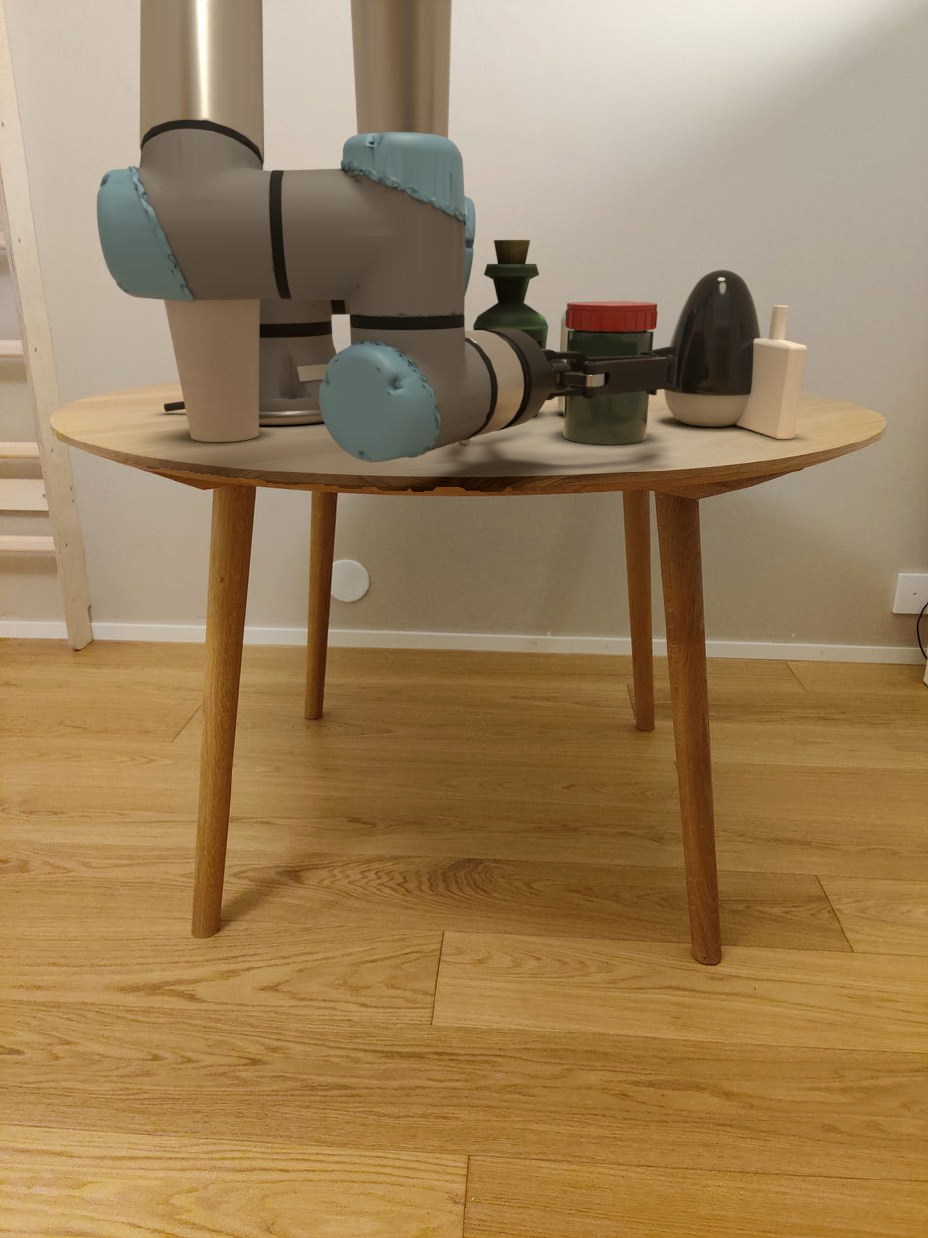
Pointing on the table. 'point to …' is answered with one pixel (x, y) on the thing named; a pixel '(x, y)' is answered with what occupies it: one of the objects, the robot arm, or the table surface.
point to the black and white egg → (714, 352)
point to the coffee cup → (218, 366)
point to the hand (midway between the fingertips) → (602, 358)
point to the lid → (611, 316)
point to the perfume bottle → (775, 381)
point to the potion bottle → (512, 292)
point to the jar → (611, 413)
